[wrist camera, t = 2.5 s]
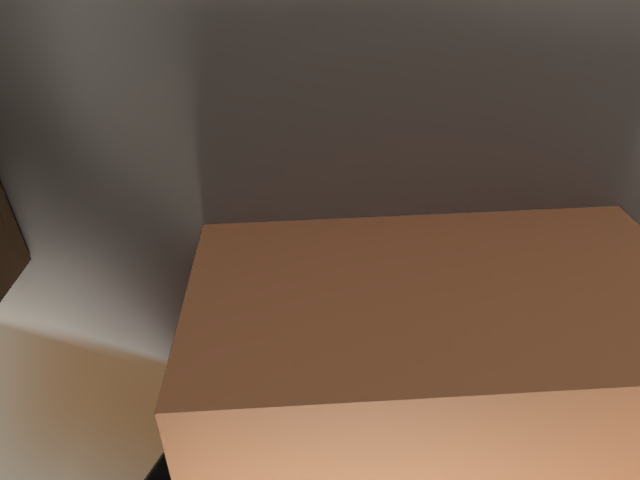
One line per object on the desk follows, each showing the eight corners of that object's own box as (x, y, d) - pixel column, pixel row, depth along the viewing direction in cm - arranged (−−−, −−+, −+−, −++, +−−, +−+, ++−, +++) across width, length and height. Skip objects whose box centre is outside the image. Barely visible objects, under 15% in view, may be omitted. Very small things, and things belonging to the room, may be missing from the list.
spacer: (615, 203, 8) (808, 376, 5) (540, 466, 11) (633, 670, 8) (203, 221, 8) (154, 414, 5) (243, 485, 11) (227, 701, 8)
